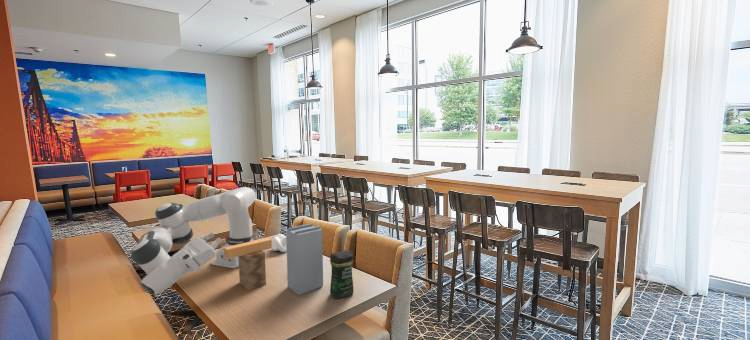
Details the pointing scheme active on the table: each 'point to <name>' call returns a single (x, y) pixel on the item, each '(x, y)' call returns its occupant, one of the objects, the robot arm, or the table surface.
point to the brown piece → (252, 270)
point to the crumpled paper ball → (279, 243)
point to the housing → (304, 258)
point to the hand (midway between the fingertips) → (216, 236)
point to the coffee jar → (341, 274)
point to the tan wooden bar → (247, 248)
